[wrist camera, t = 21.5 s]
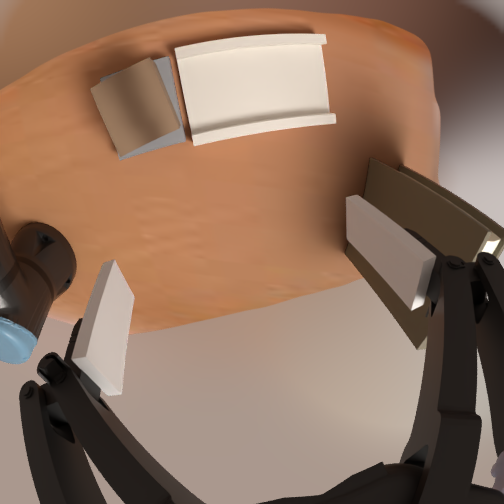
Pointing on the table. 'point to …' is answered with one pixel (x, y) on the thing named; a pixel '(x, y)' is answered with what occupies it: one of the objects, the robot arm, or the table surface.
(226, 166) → the table surface
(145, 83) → the block
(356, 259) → the book
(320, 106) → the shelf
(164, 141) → the plinth
